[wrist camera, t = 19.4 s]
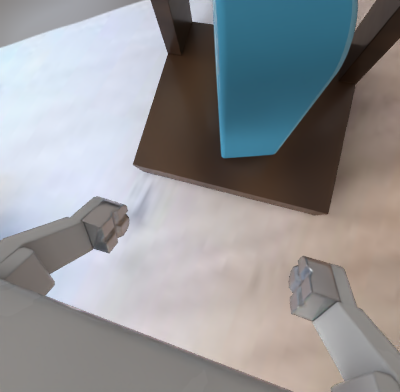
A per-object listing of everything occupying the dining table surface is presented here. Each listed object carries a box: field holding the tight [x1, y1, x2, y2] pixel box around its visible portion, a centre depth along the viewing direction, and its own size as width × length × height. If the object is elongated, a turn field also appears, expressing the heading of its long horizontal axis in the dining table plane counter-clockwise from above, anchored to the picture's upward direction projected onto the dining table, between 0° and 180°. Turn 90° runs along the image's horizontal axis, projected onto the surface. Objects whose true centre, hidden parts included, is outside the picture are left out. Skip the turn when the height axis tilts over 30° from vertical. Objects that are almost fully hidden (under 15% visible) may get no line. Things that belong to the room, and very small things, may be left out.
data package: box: [213, 0, 358, 158], centre depth 13 cm, size 12×4×12 cm, turn 3°
